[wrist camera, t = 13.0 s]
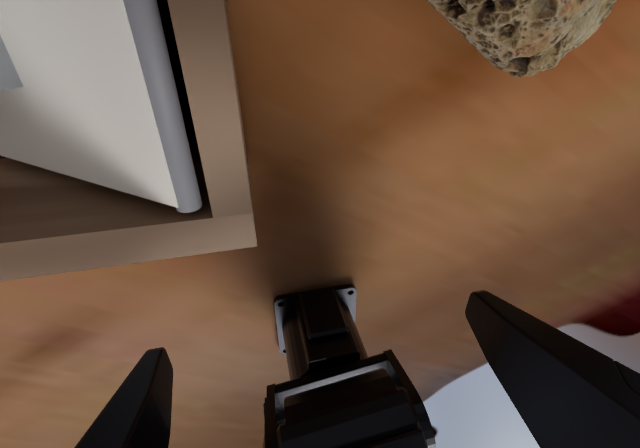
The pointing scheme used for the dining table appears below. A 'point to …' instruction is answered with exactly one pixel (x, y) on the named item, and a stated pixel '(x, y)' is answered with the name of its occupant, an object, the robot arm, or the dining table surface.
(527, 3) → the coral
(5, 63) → the grey cube
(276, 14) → the dining table surface
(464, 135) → the dining table surface
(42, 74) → the trapdoor
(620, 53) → the dining table surface
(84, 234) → the trapdoor frame
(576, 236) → the dining table surface
